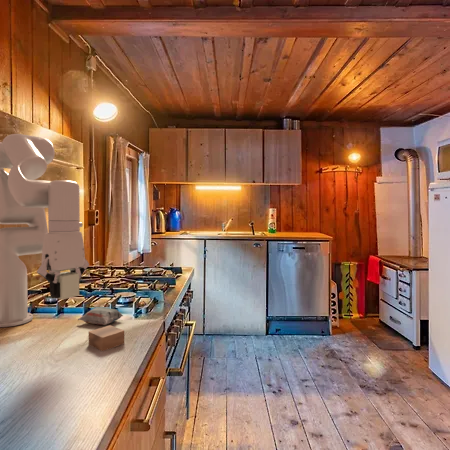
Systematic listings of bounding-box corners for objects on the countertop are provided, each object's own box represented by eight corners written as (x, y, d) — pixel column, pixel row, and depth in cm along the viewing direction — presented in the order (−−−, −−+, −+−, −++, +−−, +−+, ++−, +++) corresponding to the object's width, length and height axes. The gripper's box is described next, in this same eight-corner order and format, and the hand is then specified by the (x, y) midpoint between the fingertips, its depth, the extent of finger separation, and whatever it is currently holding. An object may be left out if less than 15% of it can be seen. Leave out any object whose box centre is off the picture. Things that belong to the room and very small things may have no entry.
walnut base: (88, 345, 98) (88, 331, 98) (110, 338, 103) (110, 325, 103) (102, 352, 93) (102, 337, 93) (124, 344, 99) (124, 330, 99)
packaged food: (106, 329, 110) (107, 314, 110) (77, 325, 114) (77, 310, 114) (123, 321, 118) (123, 307, 118) (95, 317, 122) (95, 303, 122)
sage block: (50, 296, 91) (50, 274, 91) (67, 293, 96) (67, 271, 95) (62, 299, 89) (62, 276, 89) (79, 295, 93) (79, 273, 93)
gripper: (82, 225, 101) (82, 287, 102) (24, 228, 86) (25, 300, 87) (100, 226, 97) (100, 290, 98) (42, 229, 82) (43, 304, 83)
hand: (65, 294), depth 92 cm, fingers closed on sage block, 5 cm apart
